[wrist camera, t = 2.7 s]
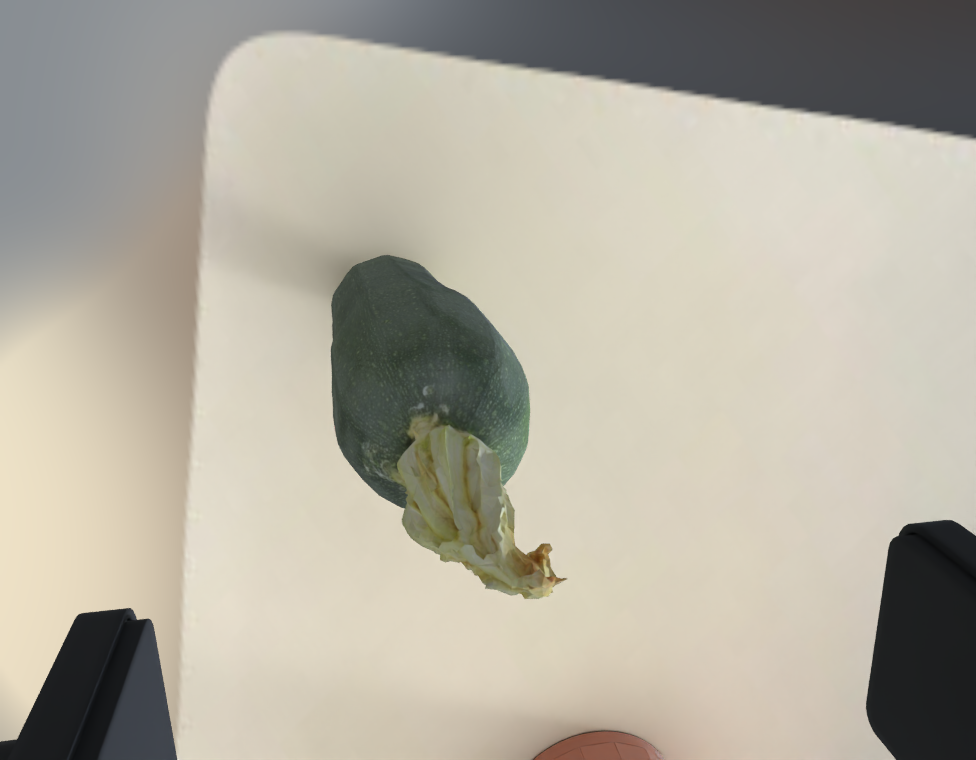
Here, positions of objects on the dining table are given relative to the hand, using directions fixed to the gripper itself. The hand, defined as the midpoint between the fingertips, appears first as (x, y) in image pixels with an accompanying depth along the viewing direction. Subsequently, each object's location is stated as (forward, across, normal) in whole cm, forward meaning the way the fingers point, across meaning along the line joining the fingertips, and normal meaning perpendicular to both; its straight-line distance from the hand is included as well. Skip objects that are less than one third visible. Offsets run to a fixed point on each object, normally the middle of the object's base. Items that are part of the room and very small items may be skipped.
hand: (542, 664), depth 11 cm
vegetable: (+23, +1, 0) cm, 23 cm away
